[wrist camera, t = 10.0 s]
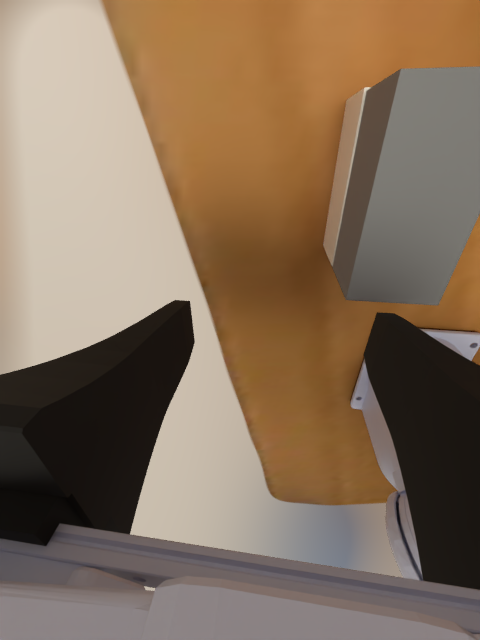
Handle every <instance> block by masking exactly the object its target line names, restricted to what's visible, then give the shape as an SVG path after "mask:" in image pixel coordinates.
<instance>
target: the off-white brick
mask: <svg viewBox="0 0 480 640" xmlns="http://www.w3.org/2000/svg"><path fill="white" fill-rule="evenodd" d="M370 88H372V87H367V88H363V89H362V90H360V91H359V92H357V93H356V94H354V95H353V96H352V97H350V98H349V99H347V100H346V106H345V113H344V119H343V125H342V131H341V137H340V144H339V150H338V156H337V162H336V168H335V175H334V181H333V187H332V193H331V199H330V206H329V212H328V218H327V224H326V230H325V237H324V243H323V247H324V249H325V251H326V254H327V256H328V259H329V261H330V263H331V266H333V262H334V257H335V252H336V246H337V241H338V236H339V231H340V226H341V221H342V215H343V210H344V205H345V200H346V195H347V190H348V184H349V179H350V174H351V169H352V164H353V159H354V153H355V148H356V143H357V138H358V133H359V127H360V122H361V117H362V112H363V107H364V102H365V96H366V91H367V90H368V89H370Z"/></svg>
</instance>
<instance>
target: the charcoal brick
mask: <svg viewBox="0 0 480 640" xmlns="http://www.w3.org/2000/svg"><path fill="white" fill-rule="evenodd" d="M479 214H480V67H451V68H415V69H400V70H398V71H397V72H395V73H394V74H392V75H390V76H389V77H387V78H386V79H384V80H383V81H381V82H379V83H378V84H376V85H375V86H373V87H372V88H370V89H368V90H367V91H366V96H365V102H364V107H363V112H362V117H361V122H360V127H359V133H358V138H357V143H356V148H355V153H354V159H353V164H352V169H351V174H350V179H349V184H348V190H347V195H346V200H345V205H344V210H343V215H342V221H341V226H340V231H339V236H338V241H337V246H336V252H335V257H334V262H333V267H332V268H333V270H334V273H335V275H336V277H337V280H338V282H339V285H340V287H341V289H342V292H343V294H344V297H345V299H346V300H355V301H372V302H389V303H406V304H424V305H439V302H440V300H441V298H442V296H443V294H444V291H445V289H446V287H447V285H448V283H449V280H450V278H451V276H452V274H453V271H454V269H455V267H456V265H457V263H458V260H459V258H460V256H461V254H462V251H463V249H464V247H465V245H466V243H467V240H468V238H469V236H470V234H471V232H472V229H473V227H474V225H475V223H476V220H477V218H478V216H479Z"/></svg>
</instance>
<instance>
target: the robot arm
mask: <svg viewBox="0 0 480 640" xmlns="http://www.w3.org/2000/svg"><path fill="white" fill-rule="evenodd" d="M472 343H474V344H472ZM471 344H472V345H471ZM193 346H194V333H193V324H192V315H191V307H190V301H179V300H175V301H173V302H171V303H169V304H167V305H165V306H164V307H162V308H161V309H159V310H157V311H156V312H154V313H152V314H151V315H149V316H147V317H146V318H144V319H143V320H141V321H139V322H137V323H136V324H134V325H132V326H130V327H128V328H126V329H125V330H123V331H121V332H119V333H117V334H115V335H113V336H111V337H109V338H107V339H105V340H103V341H101V342H98V343H96V344H94V345H91V346H90V347H87V348H84V349H82V350H79V351H76V352H73V353H71V354H68V355H66V356H63V357H60V358H57V359H54V360H51V361H48V362H45V363H42V364H38V365H35V366H32V367H28V368H25V369H21V370H18V371H14V372H10V373H6V374H2V375H0V640H480V366H479V365H477V364H475V363H474V362H472V361H471V360H472V359H473V357H474V355H475V354H476V352H477V350H478V349H479V347H480V333H477V332H462V331H447V330H432V329H419V328H418V327H416V326H414V325H413V324H411V323H410V322H408V321H407V320H405V319H403V318H402V317H400V316H398V315H396V314H393V313H377V314H376V317H375V321H374V324H373V327H372V330H371V333H370V336H369V340H368V343H367V346H366V349H365V352H364V361H363V364H362V368H361V371H360V374H359V377H358V380H357V383H356V386H355V389H354V393H353V396H352V399H351V402H350V404H351V407H352V408H354V409H362V412H363V415H364V419H365V422H366V425H367V429H368V432H369V435H370V438H371V442H372V445H373V448H374V452H375V455H376V458H377V462H378V464H379V467H380V469H381V471H382V472H383V474H384V476H385V477H386V478H387V480H388V481H389V482H390V483H391V484H392V485H393V486H394V487H395V488H396V489H397V490H398V491H396V492H393V493H392V494H390V495H389V497H388V499H387V504H386V529H387V534H388V538H389V542H390V545H391V549H392V552H393V555H394V557H395V560H396V562H397V565H398V567H399V569H400V572H401V574H402V576H403V578H401V577H395V576H388V575H382V574H375V573H369V572H363V571H357V570H351V569H344V568H338V567H332V566H325V565H319V564H313V563H306V562H300V561H294V560H287V559H281V558H275V557H268V556H262V555H255V554H249V553H243V552H237V551H231V550H224V549H218V548H212V547H205V546H199V545H193V544H186V543H180V542H174V541H167V540H161V539H155V538H148V537H142V536H136V535H130V531H131V527H132V523H133V519H134V516H135V511H136V508H137V504H138V500H139V497H140V493H141V490H142V486H143V483H144V479H145V476H146V472H147V469H148V465H149V462H150V459H151V456H152V452H153V449H154V446H155V443H156V439H157V437H158V434H159V431H160V427H161V425H162V422H163V419H164V416H165V414H166V411H167V409H168V406H169V404H170V402H171V400H172V398H173V395H174V393H175V391H176V389H177V387H178V385H179V382H180V380H181V378H182V376H183V374H184V372H185V369H186V367H187V365H188V362H189V359H190V356H191V353H192V349H193ZM144 586H147V587H153V588H156V589H155V591H147V590H145V588H144Z"/></svg>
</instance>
